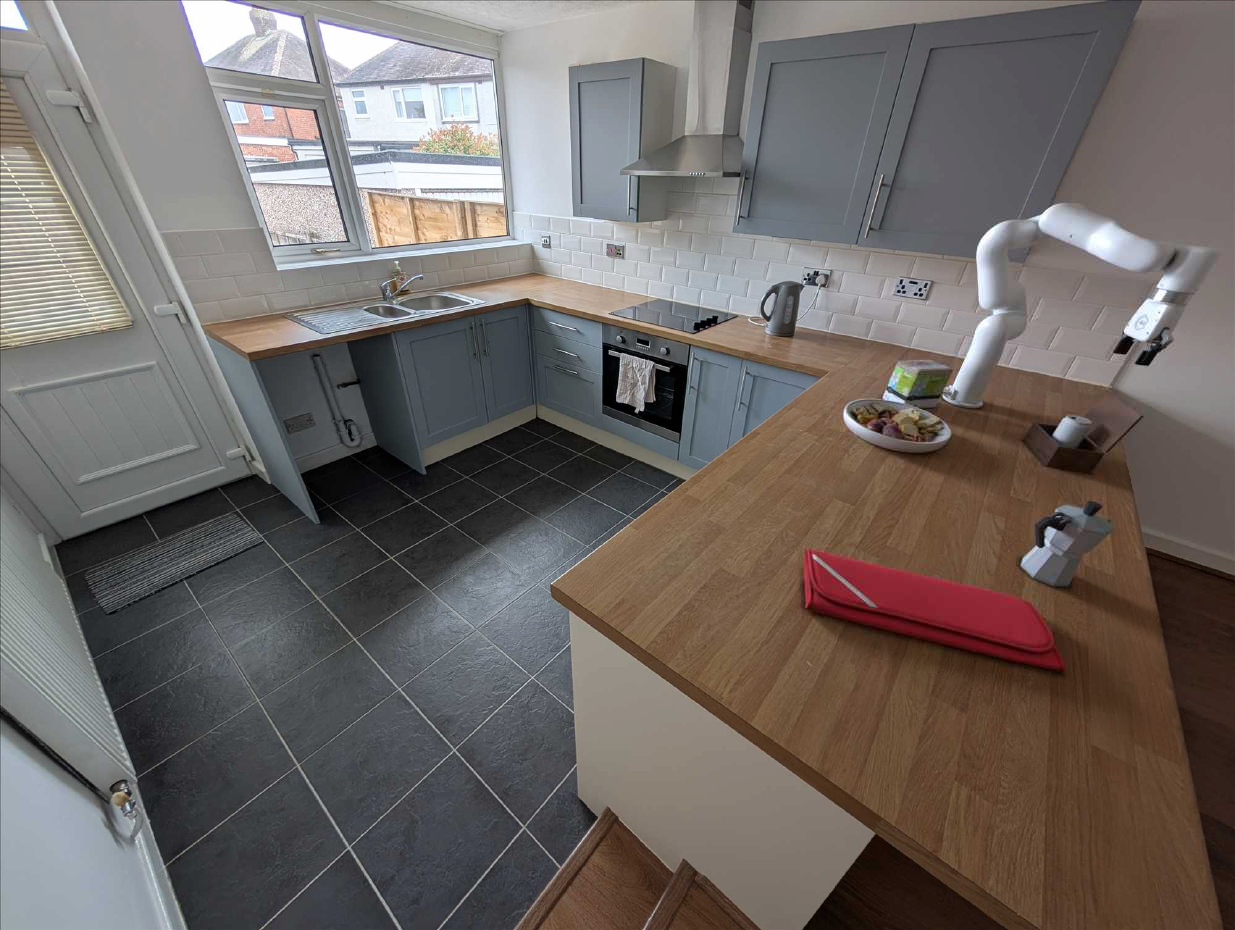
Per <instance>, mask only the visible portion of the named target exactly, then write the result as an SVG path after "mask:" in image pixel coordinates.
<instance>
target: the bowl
mask: <svg viewBox="0 0 1235 930" xmlns="http://www.w3.org/2000/svg"><path fill="white" fill-rule="evenodd" d="M843 420H844V424H845V425H846V427H847V428H848V429H849V430H850V431H851V432H852V433H853V434H854V435H856V436H857V437H858V438H860V439H862V440H864V441H866V442H867V443H870V444H872V445H875V446H878V447H880V448H884V449H887V450H890V451H896V452H901V453H909V454H922V453H924V454H925V453H930V452H934V451H936V450H939V449H940V448H943V447H944V446H945V445H946V444H947V443H948V442H949V440H950V438H951V436H952V431H951V428H950V426H949V425H948V424H947V423H946V422H945V421H944V420H942V419H941V418H939V417H938V416H936V415H934V414H932V413H931V412H929V411H927V410H924V409H923V408H917V407H914V406H911V405H907V404H904V403H900V402H895V401H890V400H884V399H883V398H860V399H855V400H852V401H850V402H848V403H847V404H846V405H845V407H844V409H843Z"/></svg>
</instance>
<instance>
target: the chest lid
mask: <svg viewBox="0 0 1235 930" xmlns="http://www.w3.org/2000/svg"><path fill="white" fill-rule="evenodd" d="M1083 417H1084V418H1086V419H1088V420H1090V421H1091V422H1092V423H1091V424H1090V425H1091V427H1090V429H1089V430H1088V432H1087V433H1086V435H1085V437H1086V438H1087V439H1088V440H1090V441H1091V442H1092V443H1093V444H1094V445H1095V446H1097V447H1098V448H1099V449H1100V450H1101V451H1102V452H1103V453H1105V454H1108V453H1109V452H1111V450H1112V449H1113V448H1115V446H1116V445H1118V443H1119V442H1120V441H1121V440H1122V439H1124V437H1125V436H1126V435H1127V434H1129V432H1130V431H1131V430H1132V429H1133V428H1134V427H1135V426H1136V425H1138V423H1139V422H1140V421H1142V419H1144V417H1145V416H1144V415H1143V414H1141V413H1140V412H1138V411H1137V410H1136V409H1134V408H1132V406H1129V405H1128V404H1127V403H1125V402H1124V401H1123V400H1121V399H1120V398H1118V397H1116V396H1115V395H1113V394H1112V393H1111V392H1108V391H1106V392H1105V393H1104V394H1103V395H1102V396H1101V397H1100V399H1099V400H1098V401H1097V402H1096V403H1095V404H1094V405H1093V406H1092V407H1091V409H1090V410H1088V412H1087V413H1086V414H1085V415H1084V416H1083Z"/></svg>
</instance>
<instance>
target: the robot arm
mask: <svg viewBox="0 0 1235 930" xmlns="http://www.w3.org/2000/svg"><path fill="white" fill-rule="evenodd" d="M1055 239H1057V240H1060V241H1063V242H1064V243H1067V244H1069V245H1072V246H1074V247H1077V248H1078V249H1082V250H1084V251H1086V252H1087V253H1089V254H1091V255H1093V256H1095V257H1097V258H1099V259H1101V260H1103V261H1105V262H1107V263H1110V264H1111V265H1114V266H1116V267H1119V268H1121V269H1124V270H1126V271H1130V272H1132V273H1137V274H1147V273H1155V272H1161V273H1162V272H1163V273H1164V274H1163V276H1162V277H1161V279H1160V280H1159V282H1158V284H1157V285H1156V286H1155V288H1154V290H1153V291H1152V293H1151V294H1150V296H1149V298H1147V299H1146V300H1145V301H1144V302H1143V303H1142V304H1141V305H1140V307H1139V308H1138V309H1137V310H1136V312H1135V313H1134V314H1133V316H1132V317H1131V319H1130V320H1128V321H1126V322H1125V323H1124V327H1123V329H1122V335H1121V336H1120V338H1119V339H1120V340H1119V341H1118V343H1117V345H1116V346H1115V347H1114V348H1113V349H1114V350H1113V351H1112V353H1113V354H1115V355H1124V356H1125V355H1127V354H1128V353H1129V351H1130V350H1131V348H1132V346H1133V345H1134V343H1135V340H1136V341H1139V342H1143V343H1146V344H1145V349H1143V350H1142V351H1141V352H1140V354H1139V356H1138V357H1137V358H1136V360H1135V362H1134V365H1135V366H1142V367H1149V366H1150V365H1151V363H1152V362H1153V361H1154V360H1155V358H1156V357H1157V355H1158V353H1159V354H1160V353H1161V352H1162V351H1163V350H1165V349H1166V348H1167V347H1168V346H1169V345H1171V344H1172V343H1173V342H1174V340H1175V339H1174V336H1173V335H1172V333H1173V332H1174V330H1175V329H1176V328H1177V326H1178V324H1179V322H1180V320H1181V318H1182V316H1183V314H1184V313H1185V310H1186V308H1187V306H1188V305H1189V304H1190V302H1191V301H1192V299H1193V298H1194V296H1195V295H1196V293H1197V292H1198V290H1199V289H1200V287H1201V286H1202V285H1203V283H1204V281H1205V280H1206V278H1207V277H1208V275H1209V274H1210V272H1211V271H1212V269H1213V268H1214V267H1215V265H1216V264H1217V263H1218V261H1219V260H1220V258H1221V257H1222V250H1221V249H1219V248H1217V247H1212V246H1202V245H1186V244H1181V243H1177V242H1174V241H1168V240H1161V241H1160V240H1157V241H1155V240H1151V239H1149V238H1146V237H1143V236H1140V235H1137V234H1135V233H1133V232H1130V231H1129V230H1126V229H1124V228H1122V227H1121V226H1120V225H1119V224H1118V222H1117V220H1115V219H1113V218H1111V217H1108V216H1105V215H1102V214H1098V213H1096V212H1093V211H1091V210H1089V209H1087V208H1086V207H1085V206H1084V205H1083V204H1080V203H1078V202H1059V203H1056V204H1053V205H1051V206H1050V207H1048V208H1047V209H1045V210H1044V212H1042V214H1038V215H1036V216H1033V217H1030V218H1027V219H1007V220H1005V221H1002V222H999V223H998V224H995V225H994V226H992V227H991V228H990V229H989V230H988V231H987V232H986V233H985V234H984V235H983V236H982V237H981V239H980V241H979V243H978V244H977V248H976V254H975V257H976V269H977V270H976V271H977V292H978V293H977V294H978V302H979V303H978V304H979V306H980V308H982V309H983V310H984V311H992V314H991V315H989V316H987V317H985V318H984V319H983V320H981V322H979V324H978V325H977V327H976V329H975V331H974V334H973V338H972V341H971V344H970V347H969V348H968V351H967V353H966V355H965V358H964V361H963V362H962V364H961V367H960V370H959V371H958V373H957V375H956V377H955V380H954V381H953V383H952V384H949V385H948V386H945V388H944V390H943V392H942V394H941V395H942V399H943V400H945V401H946V402H947V403H949V404H952V405H954V406H957V407H962V408H964V409H965V408H967V409H979V408H982V407H983V405H984V402H983V401H982V399H981V398H982V396H983V394H984V392H985V390H986V388H987V386H988V384H989V382H990V380H991V378H992V376H993V374H994V372H995V370H996V368H997V366H998V364H999V362H1000V360H1001V358H1002V356H1003V353H1004V350H1005V346H1006V344H1007V342H1008V341H1011V340H1015V339H1017V338H1019V337H1020V336H1021V335H1022V334H1024V332H1025V330H1026V329H1027V326H1028V308H1027V307H1028V305H1027V291H1026V288H1025V286H1024V284H1023V283H1022V282H1021V281H1020V280H1017V279H1014V278H1012V276H1011V275H1012V274H1011V263H1010V260H1009V256H1008V252H1009V250H1017V249H1025V248H1027V247H1031V246H1036V245H1037V244H1041V243H1043V242H1048V241H1051V240H1055Z"/></svg>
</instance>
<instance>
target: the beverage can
mask: <svg viewBox="0 0 1235 930" xmlns="http://www.w3.org/2000/svg"><path fill="white" fill-rule="evenodd" d="M1065 416H1066V417H1064V418H1063V417H1062V420H1061V421H1060V423H1059V424H1058V427H1057V429H1056V431H1055V432H1054V434H1053V435H1052V437H1051V438H1052V439H1053V440H1054V441H1055V442H1056V443H1057V444H1059V445H1060V446H1063V447H1069V448H1075V449H1076V448H1077V447H1078V445H1079V444H1080V442H1081V441H1082V439H1083V438H1084V436H1085V437H1086V433H1087V432H1088V430H1089V429H1090V427H1091V425H1090V424H1091V423H1092V422H1091V421H1090V420H1088V419H1086V418H1084V416H1081V415H1076V414H1067V415H1065Z"/></svg>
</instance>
